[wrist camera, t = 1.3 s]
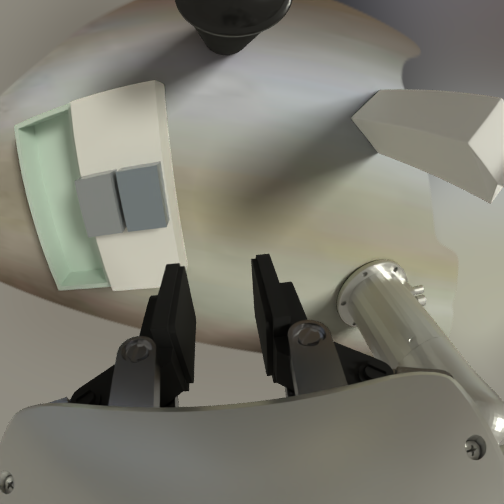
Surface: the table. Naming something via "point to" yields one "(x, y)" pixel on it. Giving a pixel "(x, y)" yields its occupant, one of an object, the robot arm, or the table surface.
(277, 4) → the drinking cup
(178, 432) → the robot arm
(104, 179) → the slate tile
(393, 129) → the milk
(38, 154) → the box
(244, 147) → the table surface
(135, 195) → the slate tile
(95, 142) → the cream rectangular block
